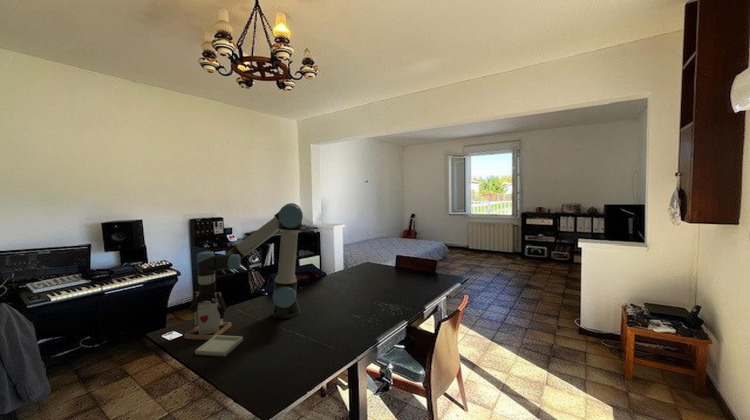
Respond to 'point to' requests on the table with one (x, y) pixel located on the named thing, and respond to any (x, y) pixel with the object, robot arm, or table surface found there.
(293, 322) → the table surface
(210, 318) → the supplement box
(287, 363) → the table surface
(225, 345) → the tray
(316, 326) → the table surface
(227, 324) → the frame
